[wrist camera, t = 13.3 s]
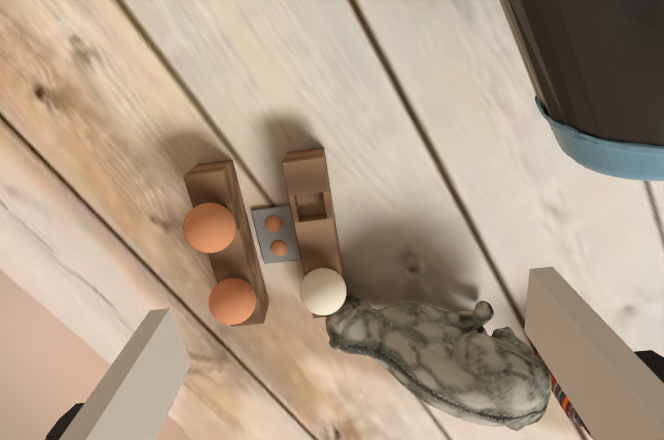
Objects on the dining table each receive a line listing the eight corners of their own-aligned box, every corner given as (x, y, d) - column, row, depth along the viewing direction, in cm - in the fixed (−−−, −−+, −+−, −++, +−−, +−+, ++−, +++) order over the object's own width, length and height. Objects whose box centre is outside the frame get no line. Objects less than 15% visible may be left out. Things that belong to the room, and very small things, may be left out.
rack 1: (196, 164, 42) (183, 176, 38) (232, 160, 41) (222, 171, 38) (238, 305, 49) (231, 326, 46) (269, 302, 49) (263, 323, 46)
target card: (252, 209, 44) (251, 211, 43) (290, 204, 43) (289, 206, 43) (265, 261, 47) (264, 264, 46) (300, 257, 46) (300, 260, 46)
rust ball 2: (211, 272, 43) (196, 298, 39) (254, 267, 43) (244, 293, 38) (222, 307, 45) (209, 337, 41) (264, 303, 45) (255, 332, 40)
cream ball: (298, 262, 42) (293, 288, 38) (342, 256, 42) (343, 282, 38) (306, 298, 45) (302, 327, 40) (348, 294, 44) (349, 322, 40)
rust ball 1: (188, 198, 40) (167, 218, 35) (234, 192, 39) (220, 211, 35) (201, 241, 42) (184, 265, 37) (246, 235, 41) (234, 259, 37)
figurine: (474, 248, 49) (323, 267, 43) (584, 385, 35) (383, 439, 30) (451, 297, 55) (316, 319, 49) (538, 430, 41) (364, 482, 36)
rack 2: (287, 152, 41) (281, 163, 37) (323, 147, 41) (322, 157, 37) (315, 297, 49) (313, 318, 45) (346, 294, 48) (347, 314, 45)
